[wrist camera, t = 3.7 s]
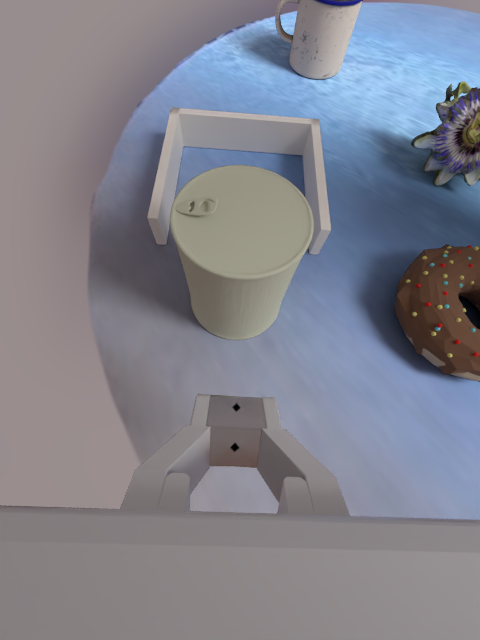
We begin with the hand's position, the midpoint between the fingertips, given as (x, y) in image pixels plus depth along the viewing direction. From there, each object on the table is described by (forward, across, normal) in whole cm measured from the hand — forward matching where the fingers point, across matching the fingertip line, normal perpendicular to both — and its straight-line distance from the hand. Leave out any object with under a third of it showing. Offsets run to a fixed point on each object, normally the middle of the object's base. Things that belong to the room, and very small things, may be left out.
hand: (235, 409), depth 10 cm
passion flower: (+34, -28, -14) cm, 46 cm away
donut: (+18, -22, +2) cm, 28 cm away
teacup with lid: (+49, -10, -30) cm, 58 cm away
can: (+18, 0, +2) cm, 18 cm away
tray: (+28, 0, -9) cm, 29 cm away
